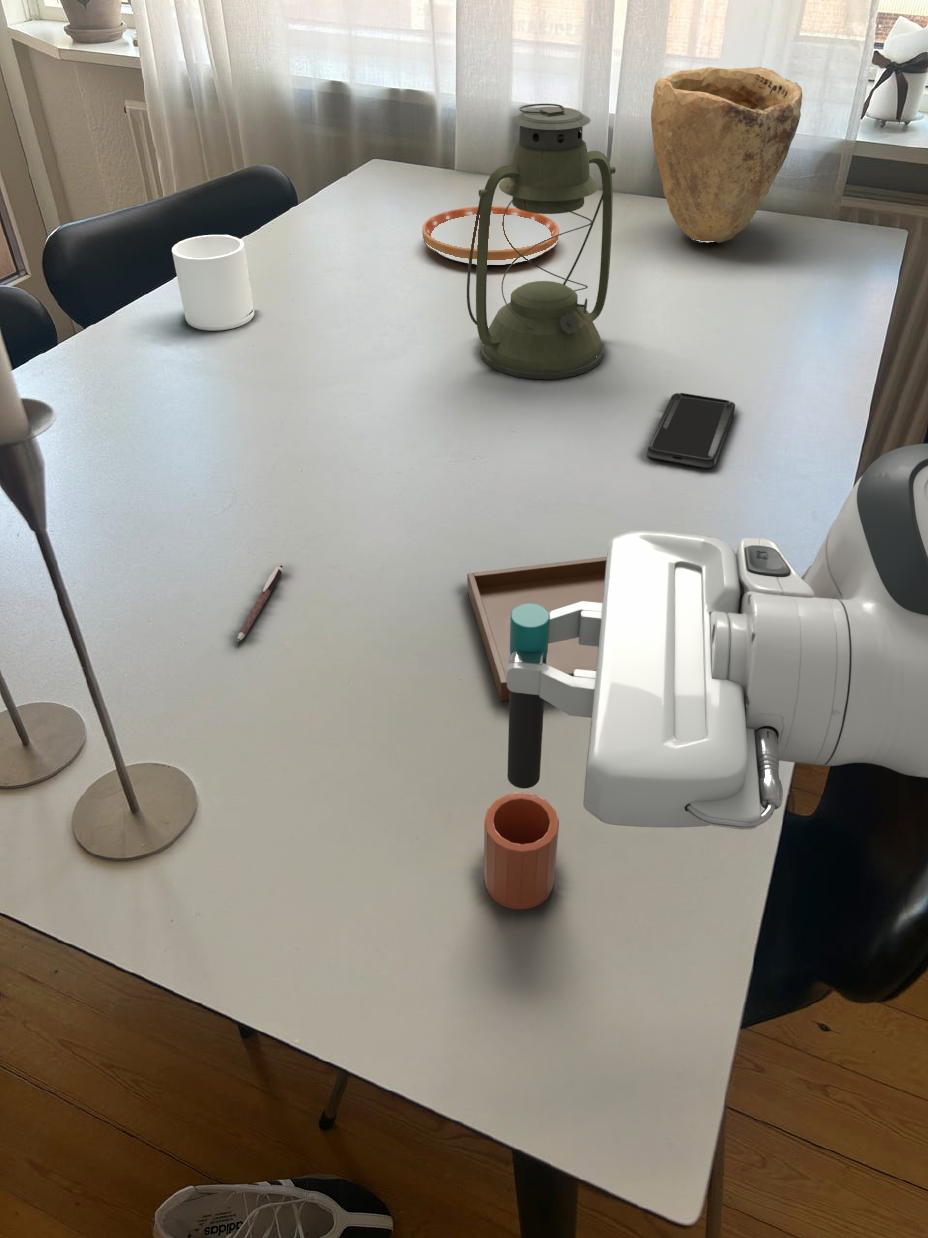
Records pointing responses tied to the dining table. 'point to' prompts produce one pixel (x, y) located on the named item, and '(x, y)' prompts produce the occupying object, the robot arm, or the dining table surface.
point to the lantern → (545, 184)
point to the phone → (691, 430)
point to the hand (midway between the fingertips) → (512, 649)
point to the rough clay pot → (721, 144)
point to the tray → (538, 586)
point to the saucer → (492, 254)
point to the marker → (526, 698)
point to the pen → (260, 602)
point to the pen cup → (520, 850)
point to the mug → (213, 281)
